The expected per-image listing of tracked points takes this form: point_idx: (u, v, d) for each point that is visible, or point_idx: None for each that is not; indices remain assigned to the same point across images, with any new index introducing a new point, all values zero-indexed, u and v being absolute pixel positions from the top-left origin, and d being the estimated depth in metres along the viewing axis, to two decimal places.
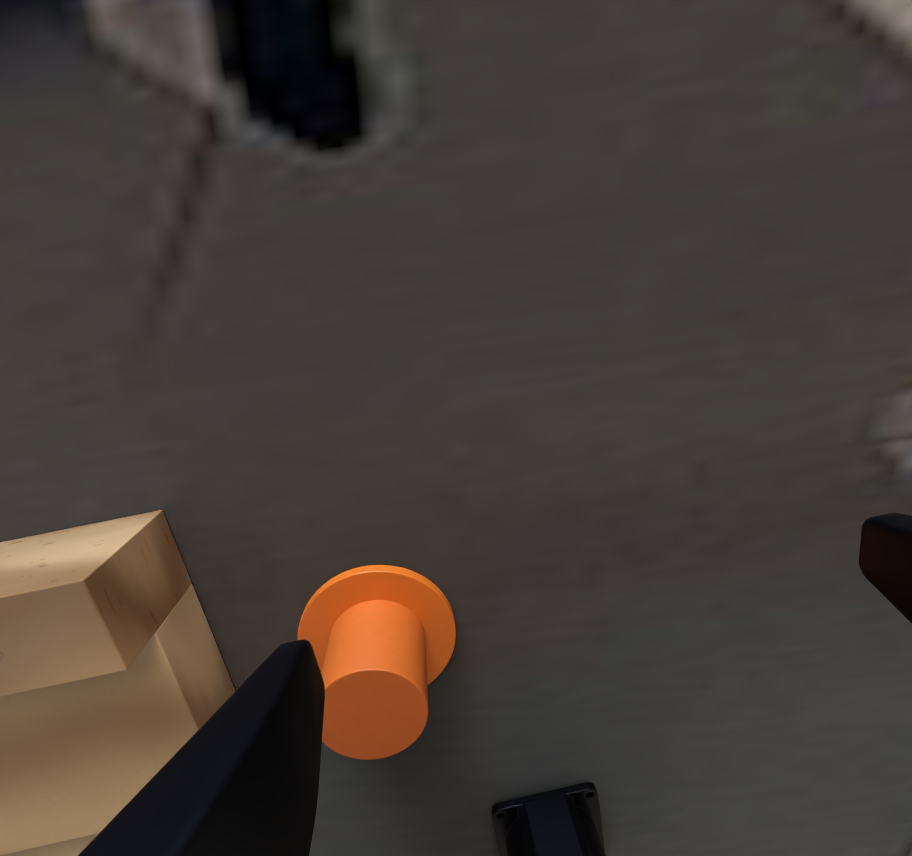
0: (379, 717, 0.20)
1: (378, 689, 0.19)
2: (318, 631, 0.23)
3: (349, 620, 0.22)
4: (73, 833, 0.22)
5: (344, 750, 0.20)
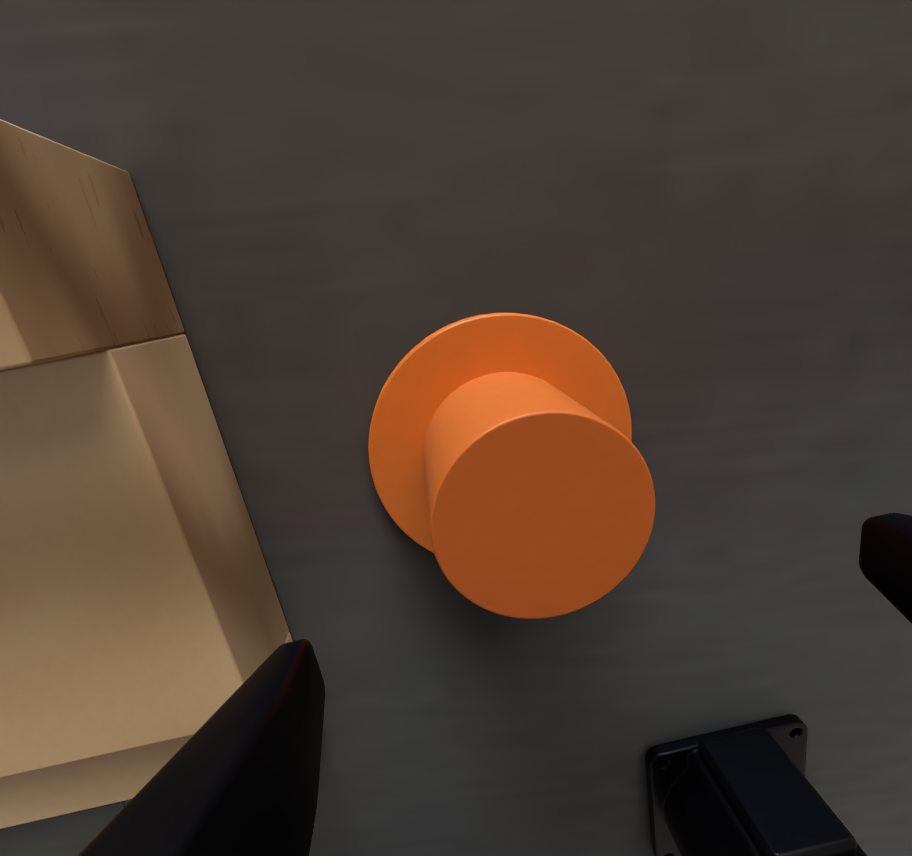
0: (561, 525, 0.10)
1: (566, 460, 0.09)
2: (404, 429, 0.14)
3: (469, 390, 0.12)
4: None
5: (486, 597, 0.10)
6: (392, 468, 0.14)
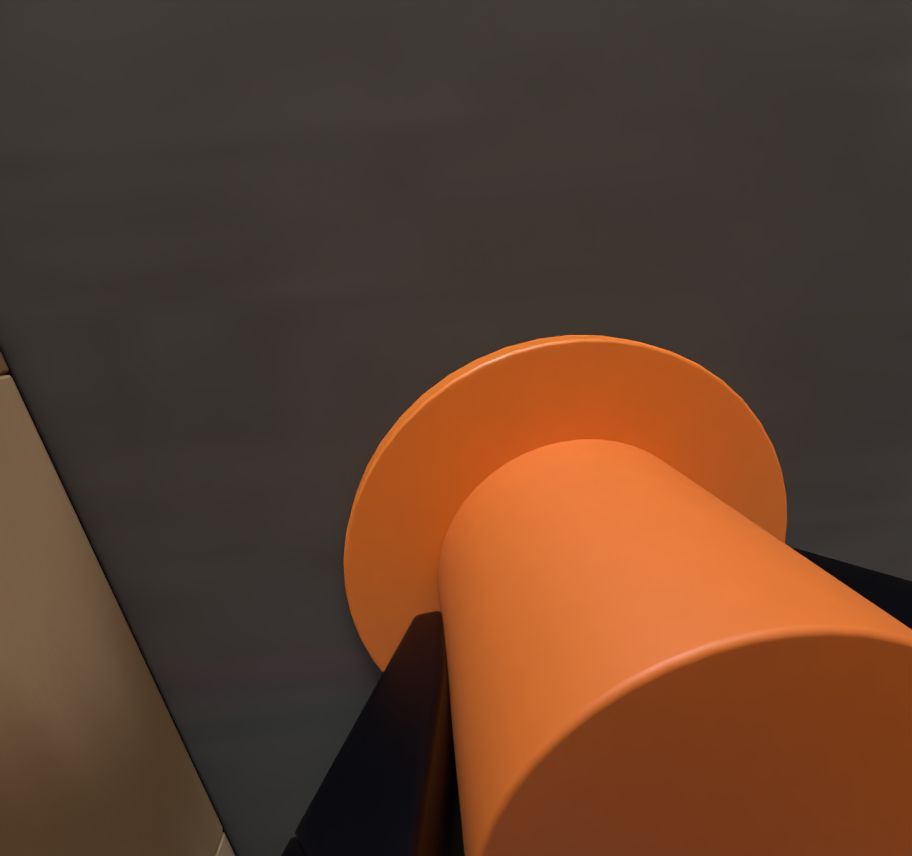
0: None
1: (824, 739, 0.04)
2: (406, 537, 0.08)
3: (527, 484, 0.07)
4: None
5: None
6: (386, 599, 0.08)
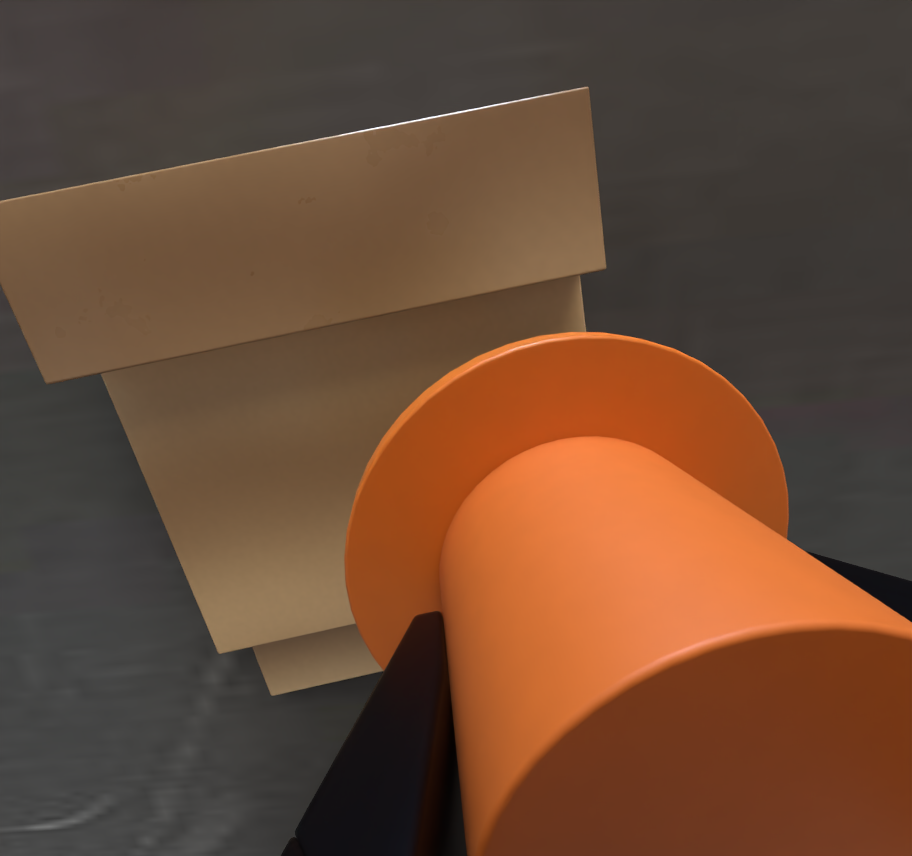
0: None
1: (827, 733, 0.04)
2: (407, 534, 0.08)
3: (528, 480, 0.07)
4: None
5: None
6: (386, 597, 0.08)
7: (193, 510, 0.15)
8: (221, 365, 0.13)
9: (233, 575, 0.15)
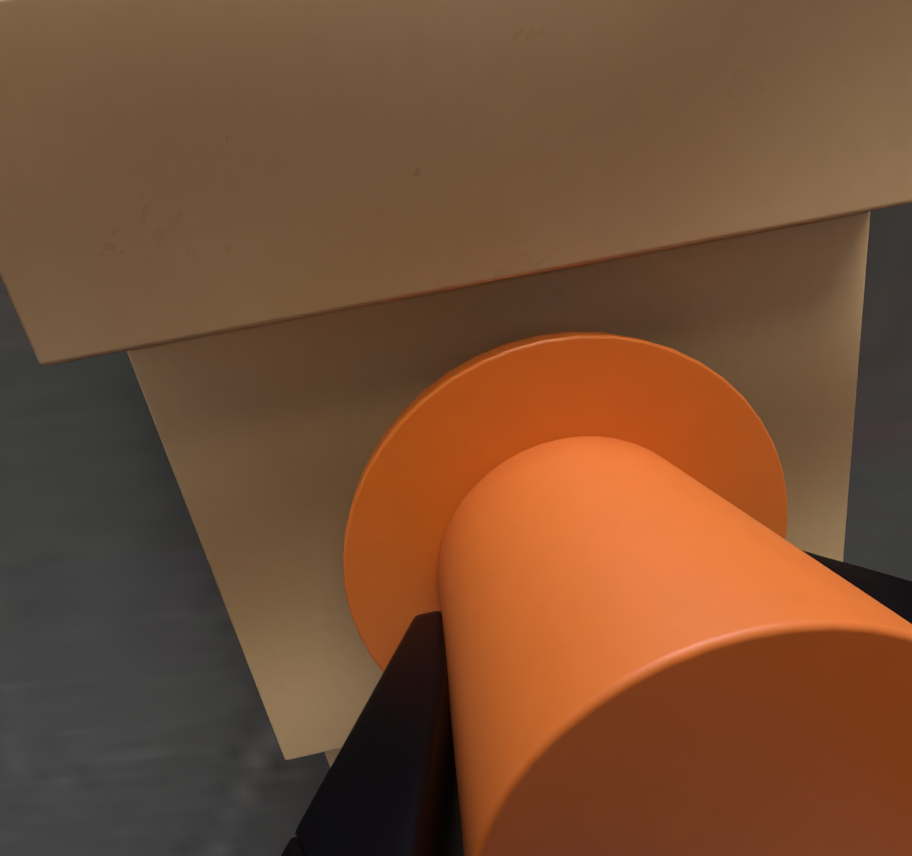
0: None
1: (824, 734, 0.04)
2: (405, 534, 0.08)
3: (527, 481, 0.07)
4: None
5: None
6: (385, 597, 0.08)
7: (261, 562, 0.10)
8: (319, 342, 0.09)
9: (313, 653, 0.10)
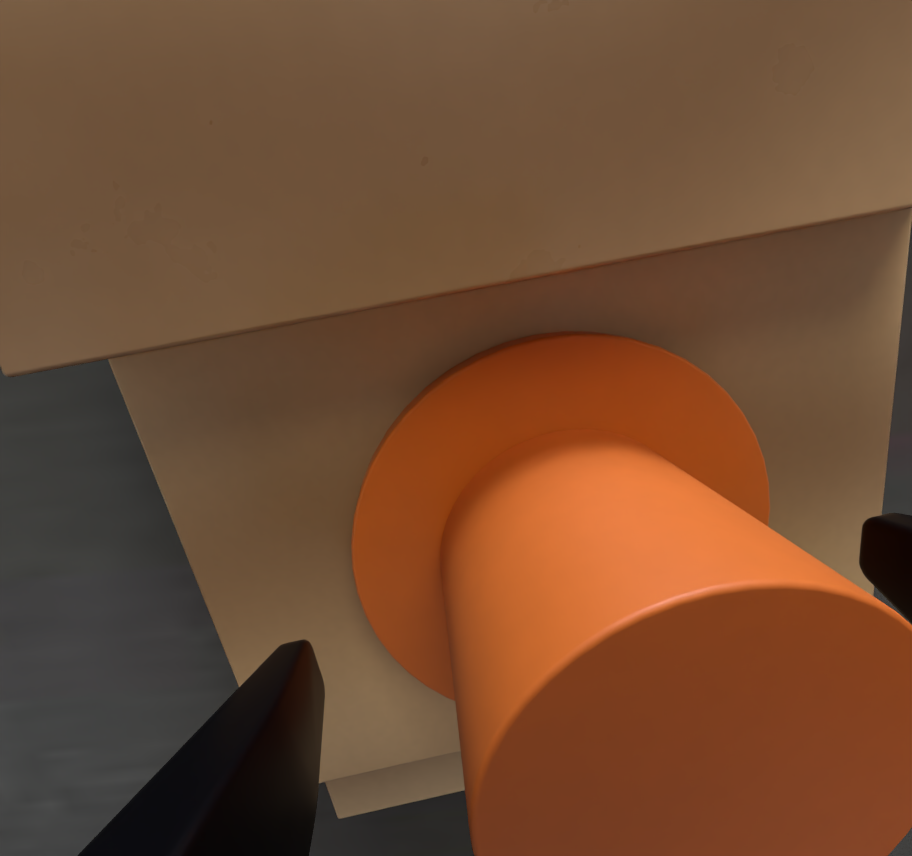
0: (752, 802, 0.05)
1: (780, 682, 0.04)
2: (410, 521, 0.08)
3: (523, 469, 0.07)
4: None
5: None
6: (391, 580, 0.09)
7: (254, 584, 0.09)
8: (316, 349, 0.08)
9: None
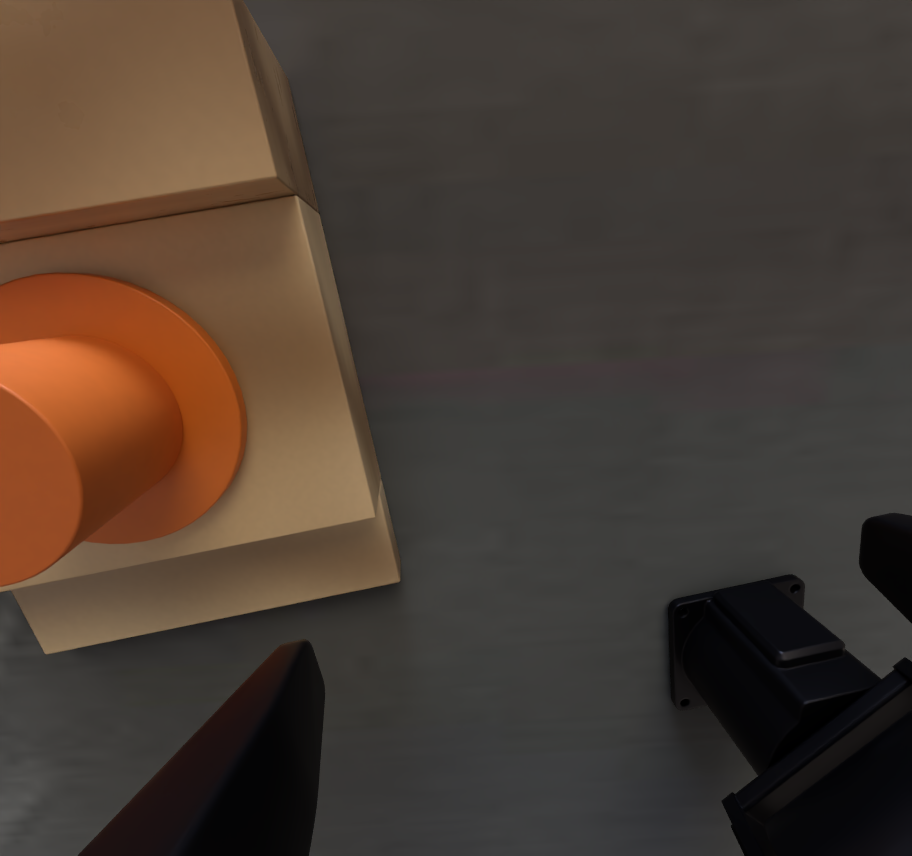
0: None
1: None
2: None
3: None
4: (152, 551, 0.15)
5: None
6: None
7: None
8: None
9: None
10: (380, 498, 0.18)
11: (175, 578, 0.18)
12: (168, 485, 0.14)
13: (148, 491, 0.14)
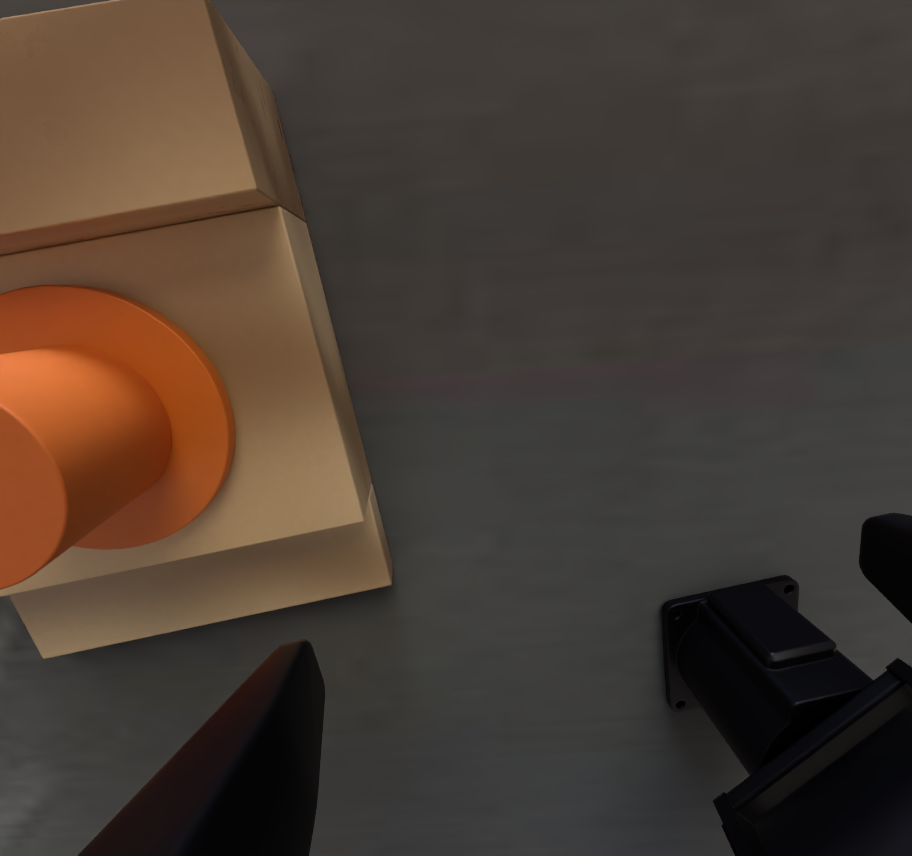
0: None
1: None
2: None
3: None
4: (144, 556, 0.16)
5: None
6: None
7: None
8: None
9: None
10: (370, 502, 0.18)
11: (169, 583, 0.18)
12: (158, 491, 0.14)
13: (139, 497, 0.14)
